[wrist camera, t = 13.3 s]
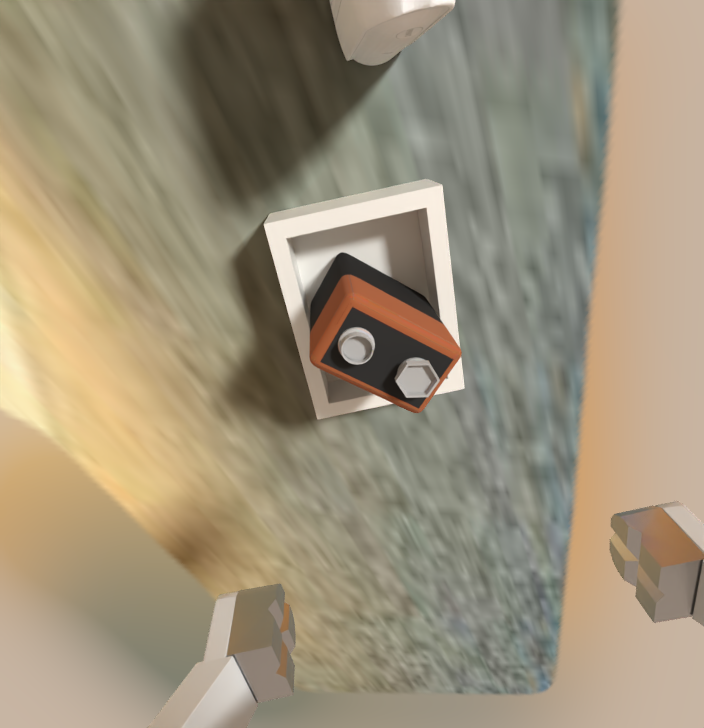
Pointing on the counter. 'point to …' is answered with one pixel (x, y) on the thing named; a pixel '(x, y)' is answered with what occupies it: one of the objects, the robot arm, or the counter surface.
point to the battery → (379, 335)
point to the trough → (377, 249)
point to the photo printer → (383, 26)
